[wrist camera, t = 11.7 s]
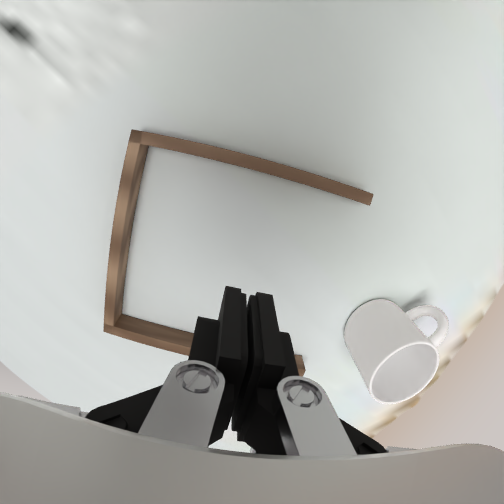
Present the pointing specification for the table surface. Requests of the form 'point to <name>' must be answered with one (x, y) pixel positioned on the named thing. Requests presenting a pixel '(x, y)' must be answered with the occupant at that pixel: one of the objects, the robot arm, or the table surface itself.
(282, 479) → the robot arm
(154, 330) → the open wooden rail frame
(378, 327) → the mug
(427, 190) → the table surface
